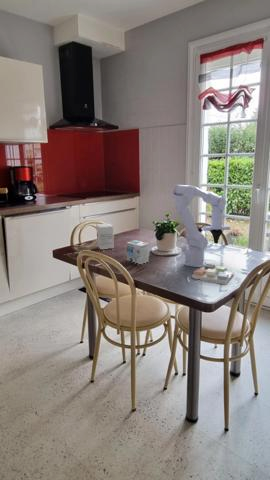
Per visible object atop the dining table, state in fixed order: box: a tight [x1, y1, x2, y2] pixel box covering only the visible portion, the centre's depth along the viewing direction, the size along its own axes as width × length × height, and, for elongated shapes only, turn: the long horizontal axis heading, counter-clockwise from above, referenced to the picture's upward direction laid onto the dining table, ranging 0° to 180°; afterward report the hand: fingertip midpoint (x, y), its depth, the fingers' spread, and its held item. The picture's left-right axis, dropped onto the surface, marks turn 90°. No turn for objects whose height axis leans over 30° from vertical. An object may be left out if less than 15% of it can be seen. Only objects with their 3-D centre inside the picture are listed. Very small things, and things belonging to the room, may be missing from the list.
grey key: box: [203, 263, 216, 270], centre depth 159 cm, size 4×4×2 cm
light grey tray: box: [191, 266, 235, 285], centre depth 155 cm, size 16×13×2 cm
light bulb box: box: [126, 239, 150, 265], centre depth 178 cm, size 11×7×11 cm, turn 45°
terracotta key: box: [193, 268, 205, 276], centre depth 155 cm, size 4×4×2 cm
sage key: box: [215, 265, 227, 272], centre depth 156 cm, size 4×4×2 cm
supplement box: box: [96, 222, 115, 249], centre depth 204 cm, size 9×9×15 cm
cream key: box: [206, 268, 217, 275], centre depth 152 cm, size 4×4×2 cm
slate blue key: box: [217, 273, 229, 280], centre depth 150 cm, size 4×4×2 cm
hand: (215, 243), depth 178 cm, fingers closed
